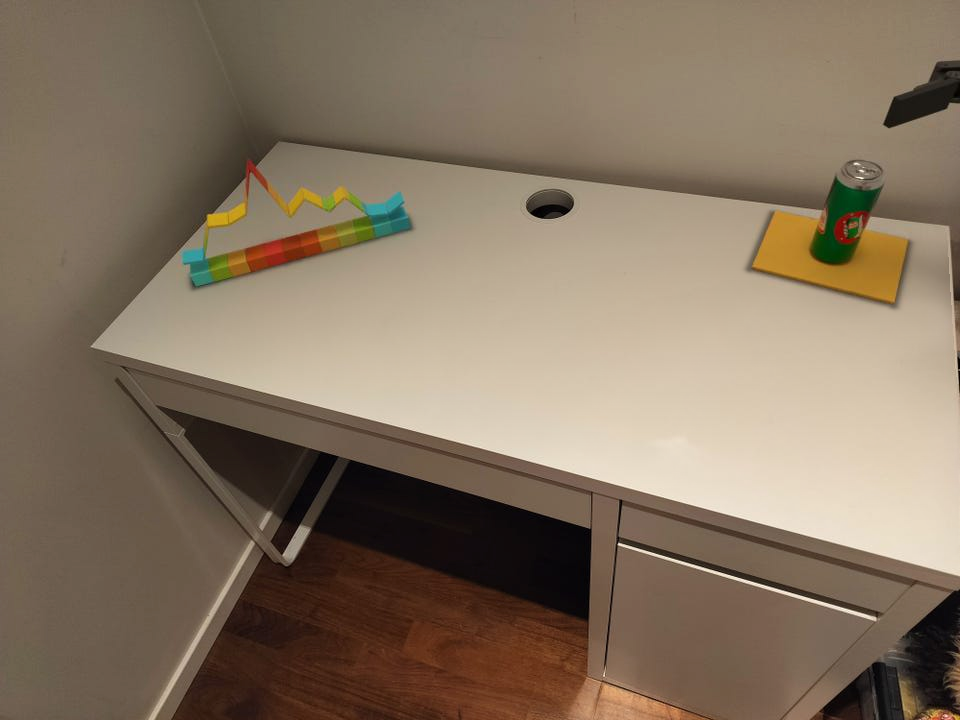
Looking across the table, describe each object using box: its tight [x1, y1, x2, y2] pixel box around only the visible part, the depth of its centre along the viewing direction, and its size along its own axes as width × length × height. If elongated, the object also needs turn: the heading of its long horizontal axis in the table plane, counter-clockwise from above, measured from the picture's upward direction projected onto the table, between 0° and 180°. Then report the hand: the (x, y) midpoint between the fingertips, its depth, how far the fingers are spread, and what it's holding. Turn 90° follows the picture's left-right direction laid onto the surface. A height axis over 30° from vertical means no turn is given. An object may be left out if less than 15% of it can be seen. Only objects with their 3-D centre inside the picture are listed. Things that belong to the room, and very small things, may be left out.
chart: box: [181, 157, 411, 287], centre depth 89 cm, size 30×3×15 cm, turn 107°
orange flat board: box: [751, 210, 909, 305], centre depth 84 cm, size 16×12×1 cm
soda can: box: [810, 158, 886, 264], centre depth 79 cm, size 5×5×12 cm
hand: (952, 149), depth 56 cm, fingers open, 13 cm apart
